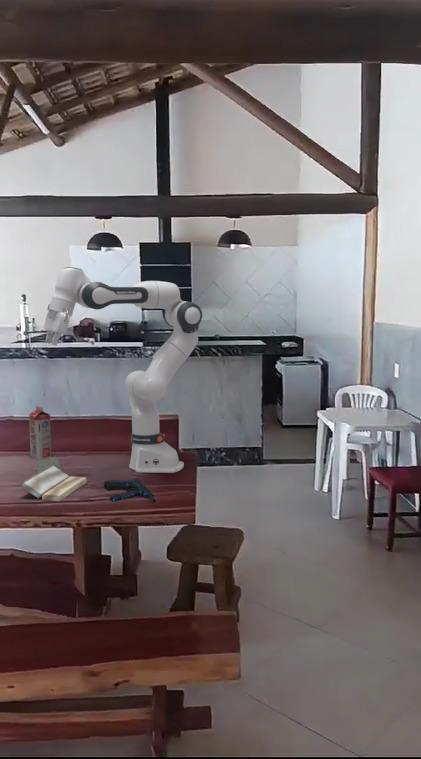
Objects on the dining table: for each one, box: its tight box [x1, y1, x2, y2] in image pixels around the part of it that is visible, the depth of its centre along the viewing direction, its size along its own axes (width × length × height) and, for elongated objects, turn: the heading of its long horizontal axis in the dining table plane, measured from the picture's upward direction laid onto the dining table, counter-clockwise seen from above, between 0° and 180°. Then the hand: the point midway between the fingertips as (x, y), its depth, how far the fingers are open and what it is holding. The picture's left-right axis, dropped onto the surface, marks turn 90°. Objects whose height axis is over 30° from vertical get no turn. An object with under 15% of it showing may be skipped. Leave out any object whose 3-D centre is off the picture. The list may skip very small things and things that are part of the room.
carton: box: [28, 405, 53, 460], centre depth 280 cm, size 7×7×22 cm
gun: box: [103, 478, 157, 503], centre depth 230 cm, size 24×3×15 cm
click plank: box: [19, 465, 69, 499], centre depth 235 cm, size 8×22×2 cm, turn 166°
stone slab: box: [35, 456, 63, 473], centre depth 266 cm, size 22×3×10 cm
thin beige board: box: [41, 475, 87, 502], centre depth 233 cm, size 7×22×2 cm, turn 167°
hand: (50, 344), depth 241 cm, fingers open, 8 cm apart
